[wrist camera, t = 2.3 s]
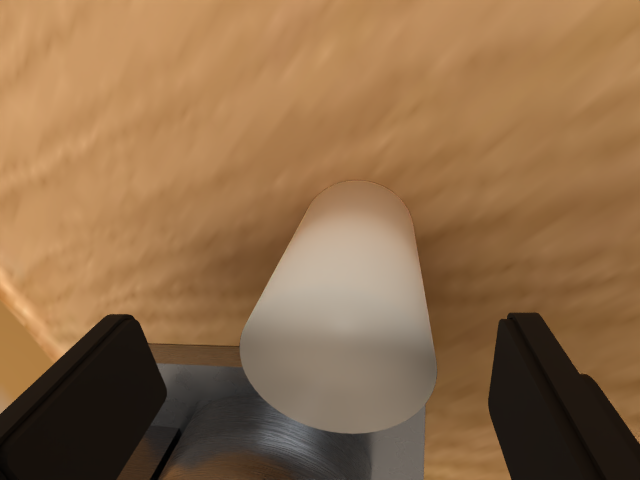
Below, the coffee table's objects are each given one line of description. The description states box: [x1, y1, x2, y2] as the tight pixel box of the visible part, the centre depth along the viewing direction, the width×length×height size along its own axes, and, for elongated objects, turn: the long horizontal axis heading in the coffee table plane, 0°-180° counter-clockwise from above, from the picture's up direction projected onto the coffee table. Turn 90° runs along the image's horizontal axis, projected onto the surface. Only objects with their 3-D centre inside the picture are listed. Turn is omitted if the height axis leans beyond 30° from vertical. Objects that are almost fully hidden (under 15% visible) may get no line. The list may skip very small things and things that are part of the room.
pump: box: [240, 180, 437, 434], centre depth 13 cm, size 5×7×8 cm
